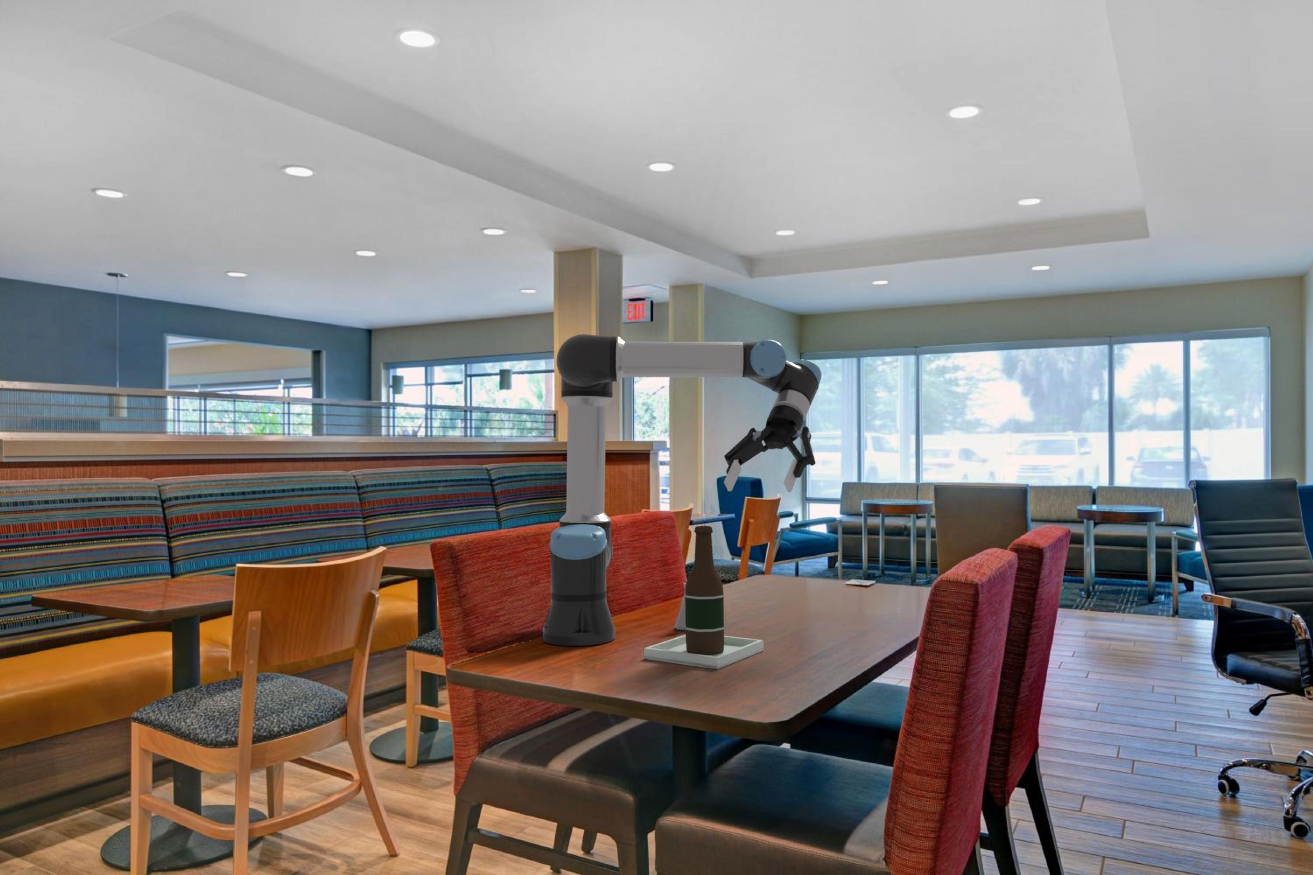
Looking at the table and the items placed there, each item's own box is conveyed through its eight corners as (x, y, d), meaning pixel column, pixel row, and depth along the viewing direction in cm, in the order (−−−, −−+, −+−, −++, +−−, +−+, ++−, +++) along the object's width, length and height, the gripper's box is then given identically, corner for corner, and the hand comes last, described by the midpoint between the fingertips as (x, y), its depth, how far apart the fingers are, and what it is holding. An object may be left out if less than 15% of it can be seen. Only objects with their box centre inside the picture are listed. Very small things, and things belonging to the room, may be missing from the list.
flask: (708, 625, 201) (707, 581, 201) (706, 631, 194) (705, 585, 194) (676, 625, 202) (675, 580, 202) (673, 631, 195) (672, 585, 195)
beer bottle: (678, 654, 169) (677, 527, 170) (692, 645, 177) (691, 524, 177) (718, 657, 167) (716, 528, 167) (730, 648, 174) (728, 525, 174)
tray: (644, 658, 168) (644, 648, 168) (693, 641, 183) (693, 631, 183) (718, 669, 160) (717, 658, 160) (763, 650, 175) (763, 640, 175)
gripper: (846, 426, 190) (819, 500, 177) (742, 429, 204) (710, 498, 191) (836, 400, 186) (807, 474, 173) (731, 405, 200) (697, 474, 187)
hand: (756, 487), depth 182 cm, fingers open, 13 cm apart
